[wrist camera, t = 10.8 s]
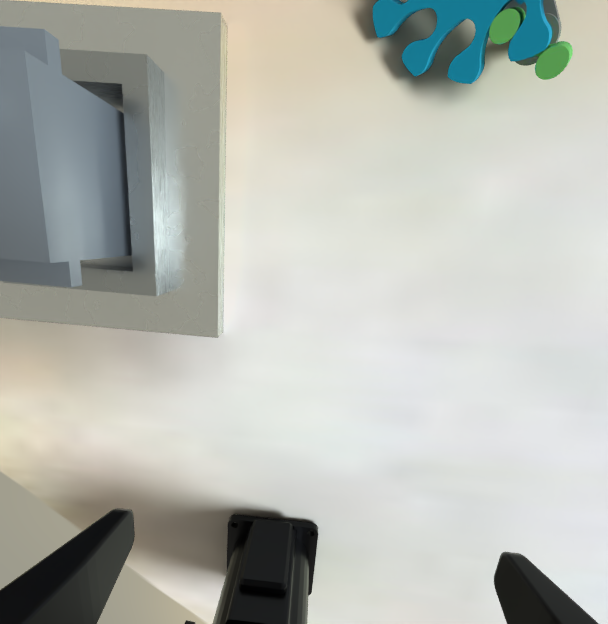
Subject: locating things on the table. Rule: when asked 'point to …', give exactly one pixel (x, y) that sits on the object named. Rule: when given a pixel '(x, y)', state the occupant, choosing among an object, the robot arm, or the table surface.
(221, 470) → the table surface
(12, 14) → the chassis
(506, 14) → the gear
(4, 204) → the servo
